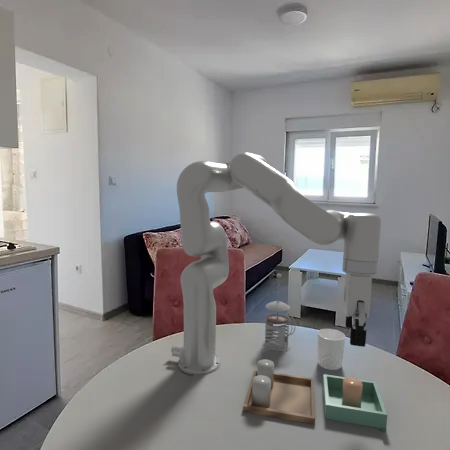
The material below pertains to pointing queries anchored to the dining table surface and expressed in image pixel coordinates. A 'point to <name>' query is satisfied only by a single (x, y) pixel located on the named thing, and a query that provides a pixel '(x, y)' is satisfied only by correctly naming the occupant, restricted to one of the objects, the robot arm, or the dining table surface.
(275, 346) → the french press
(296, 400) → the tray
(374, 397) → the bin
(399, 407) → the dining table surface
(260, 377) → the pebble
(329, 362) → the white cup
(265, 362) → the pebble
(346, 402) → the brown smooth lump
